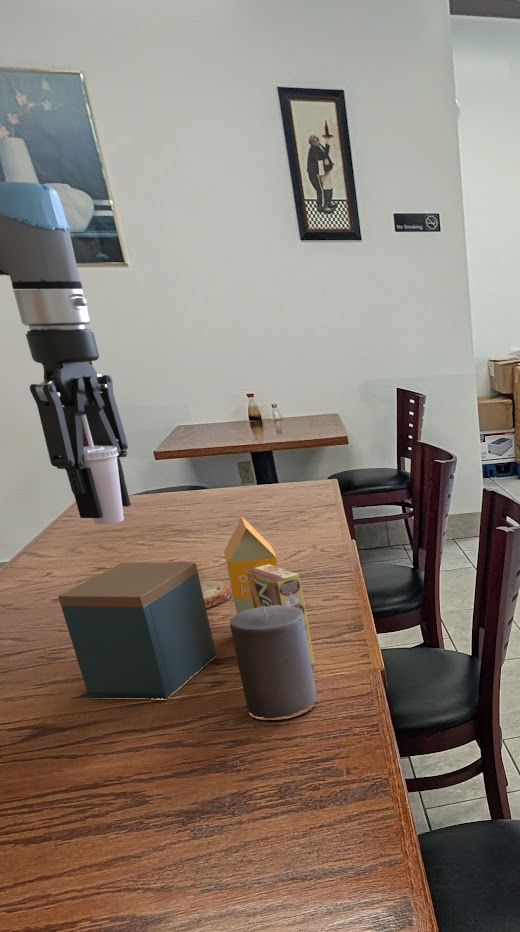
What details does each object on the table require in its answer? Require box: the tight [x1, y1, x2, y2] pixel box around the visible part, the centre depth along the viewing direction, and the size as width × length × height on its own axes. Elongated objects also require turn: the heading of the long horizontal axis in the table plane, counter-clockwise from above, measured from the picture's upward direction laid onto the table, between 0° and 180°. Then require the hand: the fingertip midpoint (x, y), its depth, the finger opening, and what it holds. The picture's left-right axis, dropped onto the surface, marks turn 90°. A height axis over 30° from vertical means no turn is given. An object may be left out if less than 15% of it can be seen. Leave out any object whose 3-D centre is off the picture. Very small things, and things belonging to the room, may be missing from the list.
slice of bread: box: [200, 580, 233, 610], centre depth 156 cm, size 18×18×4 cm
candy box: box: [247, 564, 315, 664], centre depth 128 cm, size 9×4×15 cm, turn 50°
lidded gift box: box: [57, 561, 217, 699], centre depth 124 cm, size 12×16×16 cm
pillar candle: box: [229, 605, 317, 718], centre depth 114 cm, size 10×10×15 cm
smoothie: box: [74, 414, 125, 525], centre depth 110 cm, size 6×6×14 cm
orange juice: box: [223, 515, 279, 615], centre depth 138 cm, size 8×9×20 cm
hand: (106, 511), depth 113 cm, fingers closed on smoothie, 6 cm apart
